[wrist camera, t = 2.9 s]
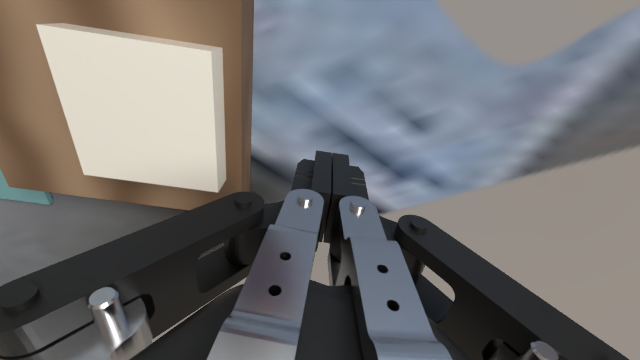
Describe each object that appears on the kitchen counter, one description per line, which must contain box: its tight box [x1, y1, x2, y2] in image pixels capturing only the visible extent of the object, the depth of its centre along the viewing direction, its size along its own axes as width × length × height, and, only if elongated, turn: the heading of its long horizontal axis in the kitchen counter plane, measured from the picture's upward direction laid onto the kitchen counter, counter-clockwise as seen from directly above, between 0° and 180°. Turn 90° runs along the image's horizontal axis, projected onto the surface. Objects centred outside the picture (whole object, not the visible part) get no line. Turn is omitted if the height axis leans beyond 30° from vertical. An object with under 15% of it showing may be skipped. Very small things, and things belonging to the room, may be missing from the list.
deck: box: [0, 0, 254, 210], centre depth 18 cm, size 16×14×2 cm
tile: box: [36, 23, 226, 193], centre depth 16 cm, size 8×8×2 cm
